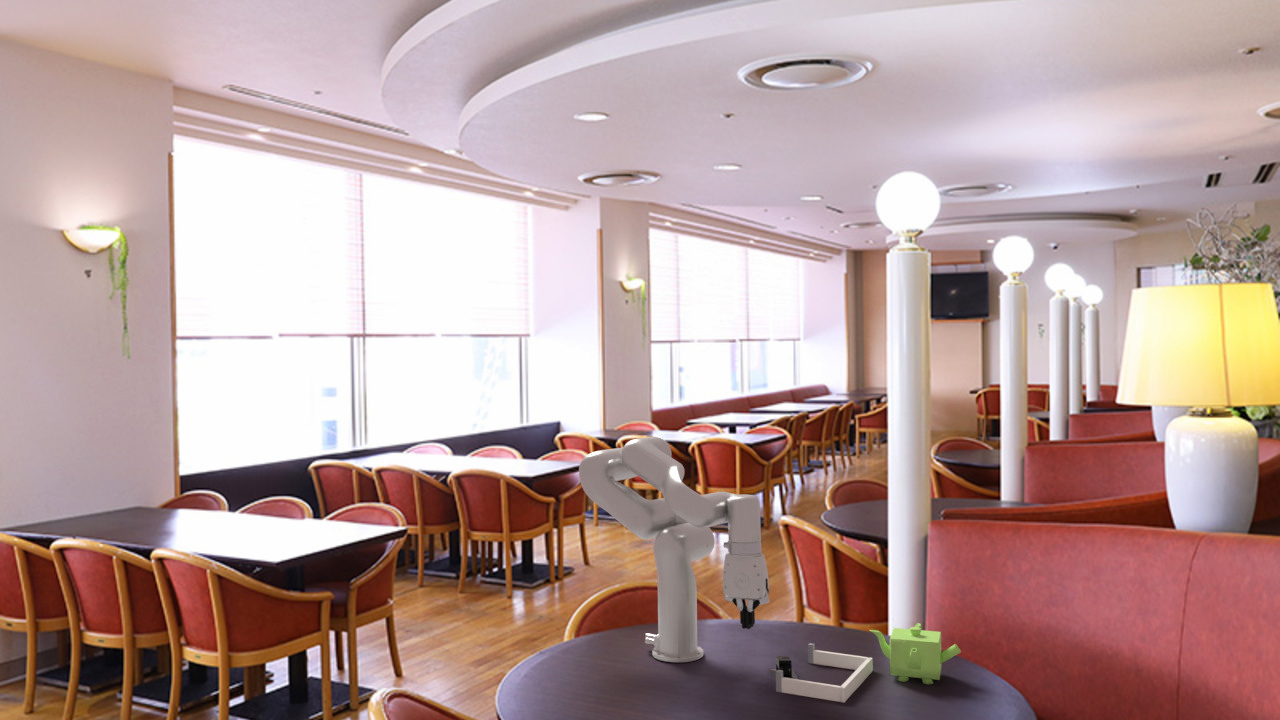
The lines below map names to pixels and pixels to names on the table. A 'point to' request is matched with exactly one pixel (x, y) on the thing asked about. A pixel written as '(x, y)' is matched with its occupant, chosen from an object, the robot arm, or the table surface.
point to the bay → (826, 690)
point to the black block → (783, 667)
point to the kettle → (915, 653)
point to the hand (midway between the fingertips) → (747, 627)
